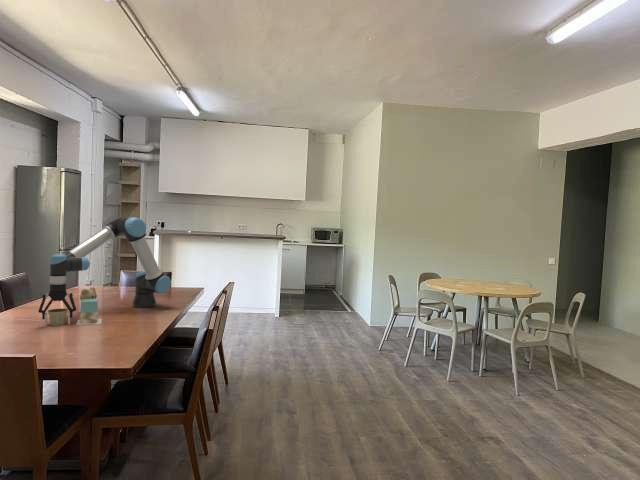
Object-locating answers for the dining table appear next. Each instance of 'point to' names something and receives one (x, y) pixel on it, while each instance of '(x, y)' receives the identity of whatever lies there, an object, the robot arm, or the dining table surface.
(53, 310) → the flower pot
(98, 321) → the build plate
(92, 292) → the toy
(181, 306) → the dining table surface
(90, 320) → the beech block
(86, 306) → the teal block
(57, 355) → the dining table surface
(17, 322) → the dining table surface
